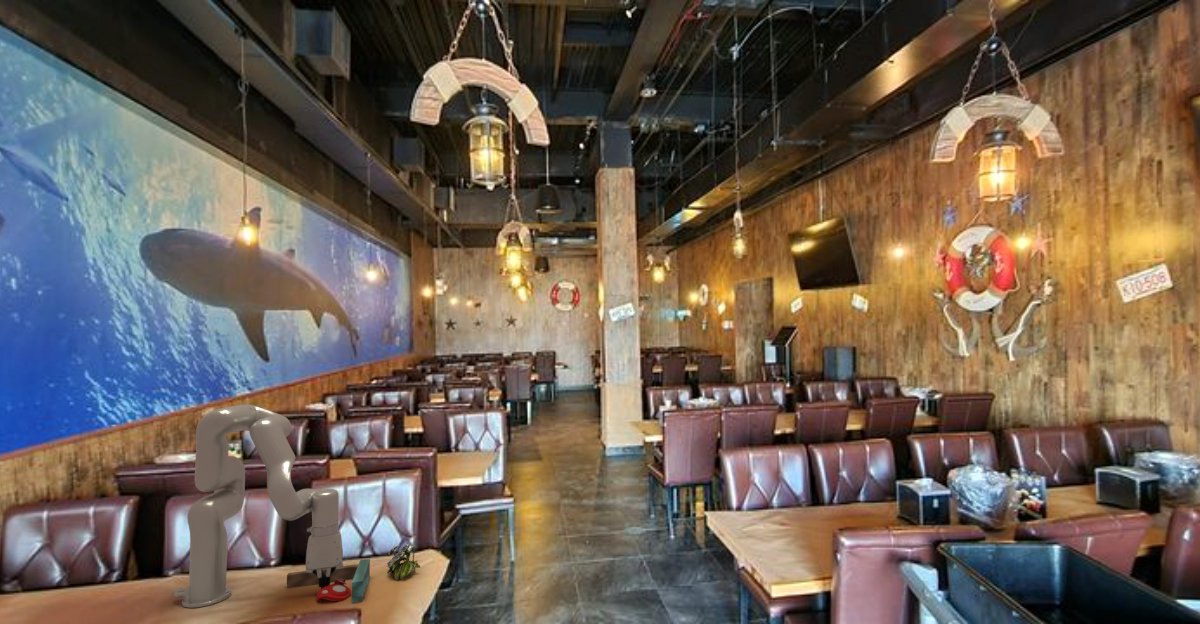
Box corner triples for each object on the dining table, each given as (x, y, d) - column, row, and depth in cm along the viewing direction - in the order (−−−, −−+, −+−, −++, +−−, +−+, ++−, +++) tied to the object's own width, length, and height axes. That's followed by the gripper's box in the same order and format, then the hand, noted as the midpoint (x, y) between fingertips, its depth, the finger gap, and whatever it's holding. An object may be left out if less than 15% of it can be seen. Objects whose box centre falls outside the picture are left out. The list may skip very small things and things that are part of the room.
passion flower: (392, 589, 183) (392, 553, 190) (425, 580, 185) (423, 545, 192) (382, 582, 174) (382, 545, 181) (416, 573, 176) (414, 536, 183)
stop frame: (269, 615, 155) (269, 593, 156) (288, 585, 175) (288, 566, 176) (362, 601, 163) (362, 581, 163) (370, 574, 183) (370, 556, 183)
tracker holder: (357, 594, 166) (323, 596, 160) (352, 607, 166) (318, 610, 159) (346, 573, 175) (314, 574, 169) (342, 586, 175) (309, 588, 169)
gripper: (296, 536, 165) (295, 597, 164) (348, 530, 170) (348, 590, 168) (301, 528, 172) (300, 587, 171) (352, 523, 177) (351, 580, 175)
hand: (324, 588), depth 170 cm, fingers closed
